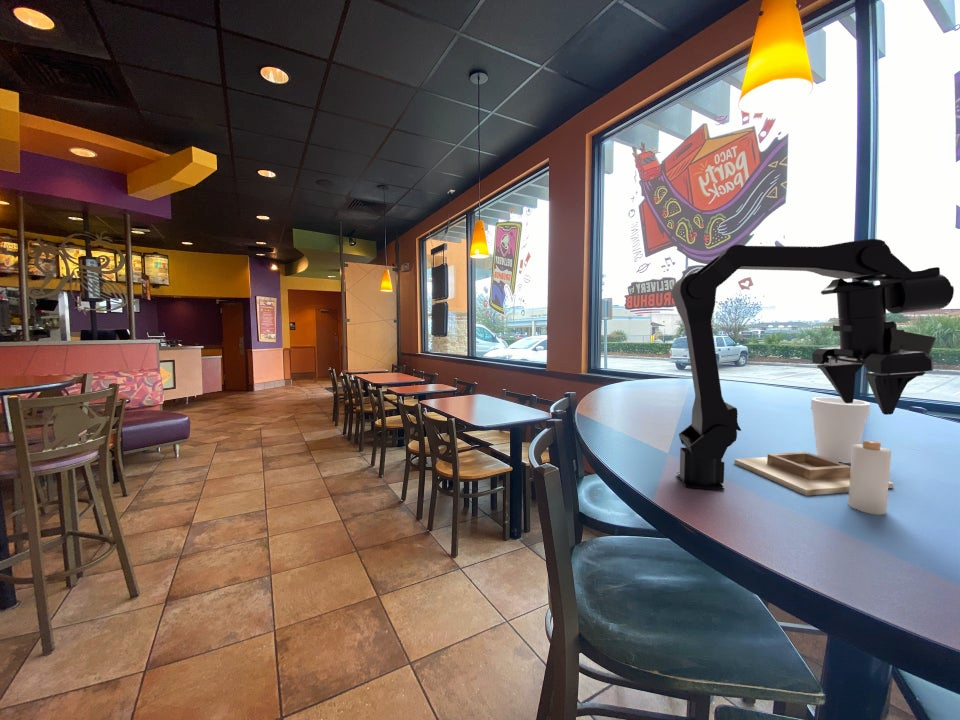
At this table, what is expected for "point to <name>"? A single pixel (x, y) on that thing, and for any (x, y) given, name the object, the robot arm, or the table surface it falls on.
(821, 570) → the table surface
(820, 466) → the plate
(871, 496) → the white bottle
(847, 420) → the foam cup
